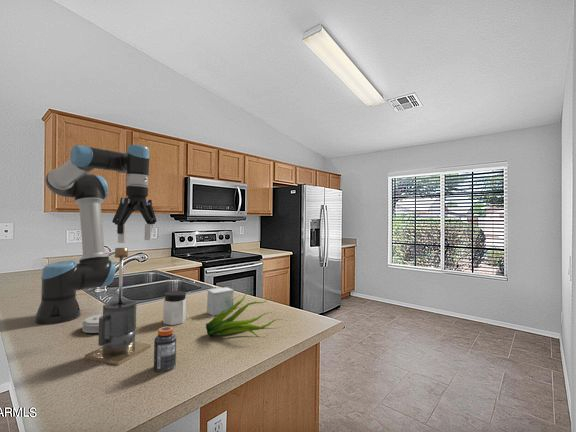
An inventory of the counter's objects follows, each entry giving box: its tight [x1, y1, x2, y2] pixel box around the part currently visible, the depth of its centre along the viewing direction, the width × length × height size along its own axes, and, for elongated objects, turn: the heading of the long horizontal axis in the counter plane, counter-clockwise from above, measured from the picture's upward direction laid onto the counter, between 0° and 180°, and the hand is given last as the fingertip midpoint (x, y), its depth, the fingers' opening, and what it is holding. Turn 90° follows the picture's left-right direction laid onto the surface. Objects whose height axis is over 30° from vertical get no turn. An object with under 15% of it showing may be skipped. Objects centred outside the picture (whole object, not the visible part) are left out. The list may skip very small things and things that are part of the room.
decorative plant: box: [205, 291, 288, 338], centre depth 117 cm, size 18×30×15 cm, turn 86°
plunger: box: [114, 247, 129, 305], centre depth 97 cm, size 4×4×18 cm
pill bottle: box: [153, 326, 177, 373], centre depth 88 cm, size 6×6×11 cm
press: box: [84, 299, 151, 366], centre depth 97 cm, size 13×14×16 cm
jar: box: [162, 290, 187, 326], centre depth 126 cm, size 9×8×12 cm
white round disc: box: [81, 313, 103, 334], centre depth 117 cm, size 13×13×5 cm
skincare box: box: [206, 287, 235, 317], centre depth 140 cm, size 10×6×10 cm, turn 131°
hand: (135, 241), depth 116 cm, fingers open, 13 cm apart
